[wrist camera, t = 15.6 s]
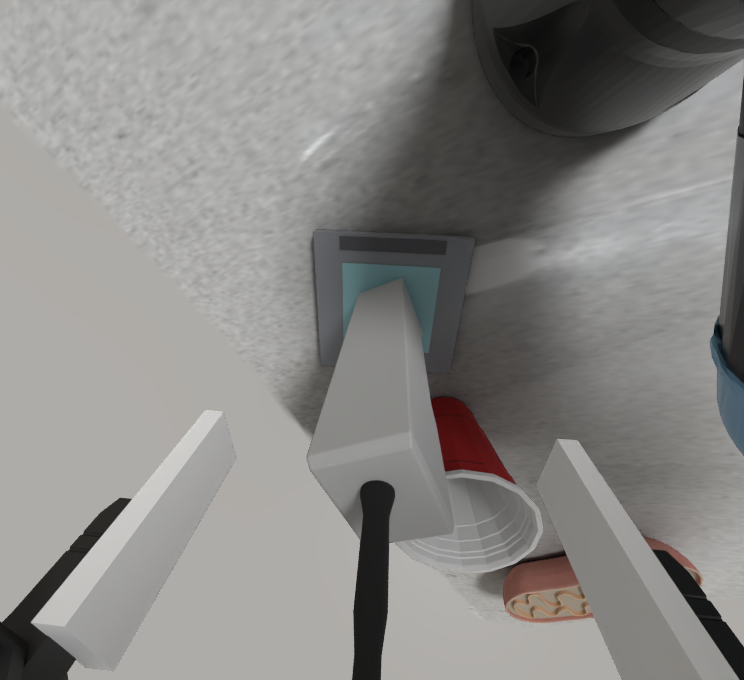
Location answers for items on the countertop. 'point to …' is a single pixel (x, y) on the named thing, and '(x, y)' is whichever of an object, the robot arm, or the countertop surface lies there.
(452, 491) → the plastic cup
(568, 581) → the anatomical model
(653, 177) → the countertop surface
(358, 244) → the pad
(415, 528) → the vintage mobile phone
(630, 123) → the robot arm
